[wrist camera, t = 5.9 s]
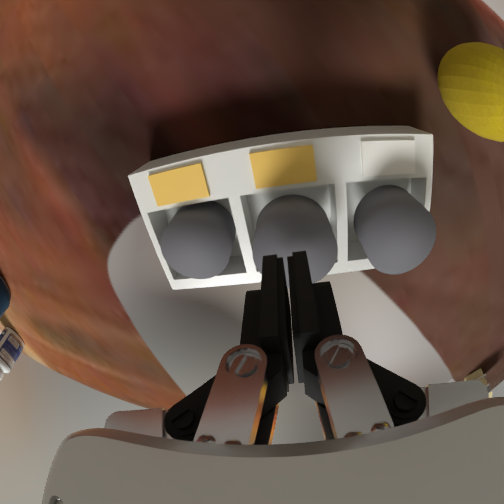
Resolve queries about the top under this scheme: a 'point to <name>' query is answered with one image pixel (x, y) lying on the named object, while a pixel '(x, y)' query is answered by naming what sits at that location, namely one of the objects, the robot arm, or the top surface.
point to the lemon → (475, 87)
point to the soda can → (4, 296)
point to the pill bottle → (9, 349)
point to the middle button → (295, 234)
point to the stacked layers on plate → (477, 376)
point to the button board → (284, 186)
